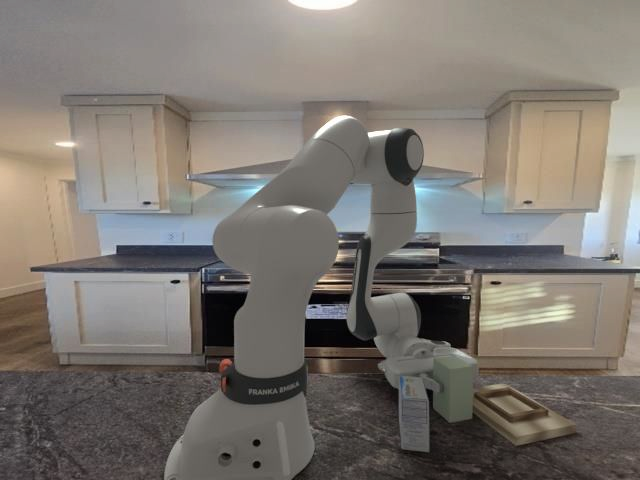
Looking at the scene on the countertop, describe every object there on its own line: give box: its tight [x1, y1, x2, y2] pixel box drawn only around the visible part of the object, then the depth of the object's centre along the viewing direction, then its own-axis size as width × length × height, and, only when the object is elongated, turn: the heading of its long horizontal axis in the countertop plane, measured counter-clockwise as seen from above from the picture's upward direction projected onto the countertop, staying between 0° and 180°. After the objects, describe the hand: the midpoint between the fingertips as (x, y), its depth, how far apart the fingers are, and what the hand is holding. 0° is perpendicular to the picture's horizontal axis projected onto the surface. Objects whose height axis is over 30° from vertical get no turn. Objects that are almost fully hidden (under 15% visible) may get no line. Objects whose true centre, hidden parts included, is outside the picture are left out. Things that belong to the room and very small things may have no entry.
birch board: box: [472, 383, 577, 447], centre depth 59 cm, size 13×15×2 cm
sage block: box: [432, 356, 474, 424], centre depth 59 cm, size 5×5×10 cm
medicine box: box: [398, 376, 430, 453], centre depth 53 cm, size 8×4×9 cm, turn 168°
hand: (455, 387), depth 58 cm, fingers closed on sage block, 5 cm apart
